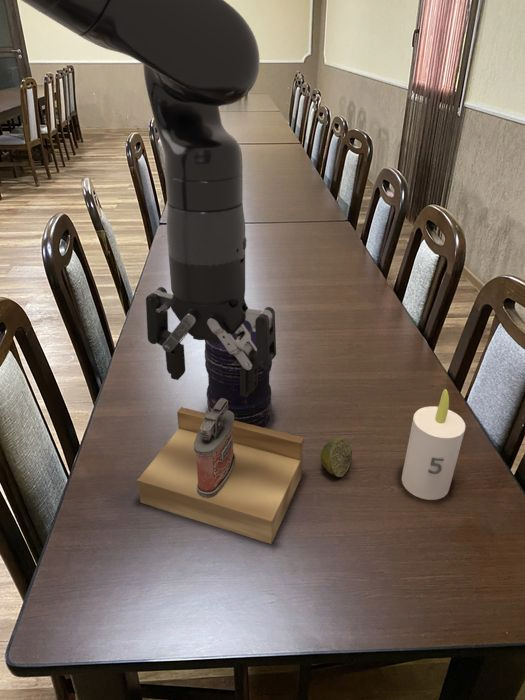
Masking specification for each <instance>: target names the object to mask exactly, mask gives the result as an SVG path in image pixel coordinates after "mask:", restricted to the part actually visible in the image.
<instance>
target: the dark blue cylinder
mask: <svg viewBox="0 0 525 700" xmlns="http://www.w3.org/2000/svg"><path fill="white" fill-rule="evenodd" d="M243 325H244V326H245V327H246V329H247V330H248V332H249V333H250V335H251V341H252V342H253V344H254V345H255V347H256V348H257V343H256V332H253V331H252V328H251V324H250V323H249V322H248V321H245V322H244V323H243ZM232 337H233V338H234V339H235V341H236V339H237V336H236V334H235V333H234V334H233V335H232ZM204 359H205V361H204V366H205V371H206V373H207V377H208V379H207V381H208V384H207V388H206V398H207V399H206V403H207V405H206V406H207V409H208V412H211V411H212V409H213V408H214V406H215V405H216V403H217V402H218V401H219V400H220V399H221V398H223V399H226V400H227V401H228V409H227V410H229V411H231V412H233V414H234V420H235V421H239V422H243V423H247V424H251V425H255V426H259V427H263V428H267V426H268V425H269V423H270V420H271V408H272V394H273V393H272V387H271V385H270V372H271V370H272V366H273V360H272V361H271V362H270V364H269V366H268V367H267V368H265V369H263V368H260V367H258V384H257V386H256V387H255V389H254V390H253V392H252V393H249V395H248V396H247V397H245V396H241V395H240V368H241V367H242V366H241V364H240V363H239V361H238V360H237V358H236V357H235V356H234V355H231V354H230V353H229V352H228V351H227V349H226V348H225V347H224V345H223V344H222V342H221V343H220V344H215V343H212V342H210V341H207V340H204Z"/></svg>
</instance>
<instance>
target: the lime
mask: <svg viewBox="0 0 525 700" xmlns="http://www.w3.org/2000/svg"><path fill="white" fill-rule="evenodd" d="M319 457H320V462H321V464H322V466H323V467H324V469H325V471H327V473H329V474H331V475H332V476H335V477H337V478H342V477H344V475H345V474H346V473H347V472H348V470H349V469H350V466H351V462H352V460H353V450H352V446H351V443H350V442H349V441H348V440H345V439H343V438H341V437H340V438H339V437H336V438H333V439H331V440H328V441H327V442H326V443H325V444H324V445H323V447H322V449H321V451H320V456H319Z"/></svg>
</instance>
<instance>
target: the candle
mask: <svg viewBox="0 0 525 700" xmlns="http://www.w3.org/2000/svg"><path fill="white" fill-rule="evenodd" d="M449 407H450V396H449V392H448V389H446V388H444V389H443V390H442V393H441V396H440V400H439V403H438V406H431V405H430V406H423V407H421V408H419V409H418V410H416V411H415V413H414V414H413V417H412V423H411V429H410V432H409V436H408V437H409V438H408V443H407V448H406V453H405V457H404V458H405V459H404V463H403V468H402V473H401V483H402V485H403V487H404V488H405V490H406V491H407V492H408V493H409V494H411V495H413V496H414V497H417V498H419V499H422V500H427V501H437V500H440V499H443V498H444V497H446V496H447V495H448V494H449V491H450V488H451V485H452V480H453V477H454V473H455V470H456V465H457V462H458V458H459V453H460V450H461V446H462V443H463V440H464V435H465V432H466V423H465V421H464V419H463V418H462V417H461V416H460V415H459V414H457V413H456V412H455V411H453V410H450V409H449Z"/></svg>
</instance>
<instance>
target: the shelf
mask: <svg viewBox="0 0 525 700" xmlns="http://www.w3.org/2000/svg"><path fill="white" fill-rule="evenodd" d="M176 413H177V414H176V415H177V425H178V429H177V430H176V431H175V432H174V434H173V435H171V437H170V439H169V440H168V441H167V442H166V443H165V445H164V446H163V448H162V449H161V450H160V451H159V452H158V454H157V455H156V456H155V458H154V459H152V461H151V462H150V463H149V465H148V466H147V467H146V468H145V470H144V471H143V472H142V473H141V475H140V476H139V477H138V479H137V487H138V495H139V500H140V503H141V504H144V505H147V506H149V507H154V508H157V509H159V510H163V511H165V512H169V513H171V514H174V515H178V516H180V517H184V518H187V519H191V520H193V521H197V522H199V523H204V524H206V525H210V526H213V527H216V528H219V529H222V530H225V531H227V532H232V533H234V534H238V535H240V536H244V537H248V538H250V539H253V540H257V541H259V542H263V543H266V544H269V545H272V544H273V543H274V540H275V537H276V536H277V534H278V531H279V529H280V526H281V524H282V521H283V519H284V517H285V515H286V513H287V511H288V508H289V506H290V504H291V502H292V499H293V497H294V495H295V493H296V491H297V488H298V485H299V483H300V481H301V479H302V472H303V471H302V470H303V458H304V457H303V456H304V439H305V438H304V437H303V436H298V435H294V434H290V433H287V432H282V431H278V430H274V429H271V428H267V427H265V428H263V427H259V426H255V425H251V424H247V423H243V422H239V421H235V420H234V424H233V452H234V454H235V464H234V468H233V471H232V473H231V475H230V478H229V479H228V481H227V482H226V484H225V485H224V487H223V488H222V489H221V490H220V492H219V493H218V494H217V495H216V496H215V497H212V498H203V497H201V496H199V495H198V493H197V483H198V476H197V462H196V453H195V451H194V441H195V439H196V436H197V434H198V432H199V430H200V427H201V425H202V424H203V421H204V417H205V414H206V413H207V412H202V411H199V410H195V409H191V408H188V407H187V408H186V407H183V406H180V408H179V409H178V410H177V412H176Z"/></svg>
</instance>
